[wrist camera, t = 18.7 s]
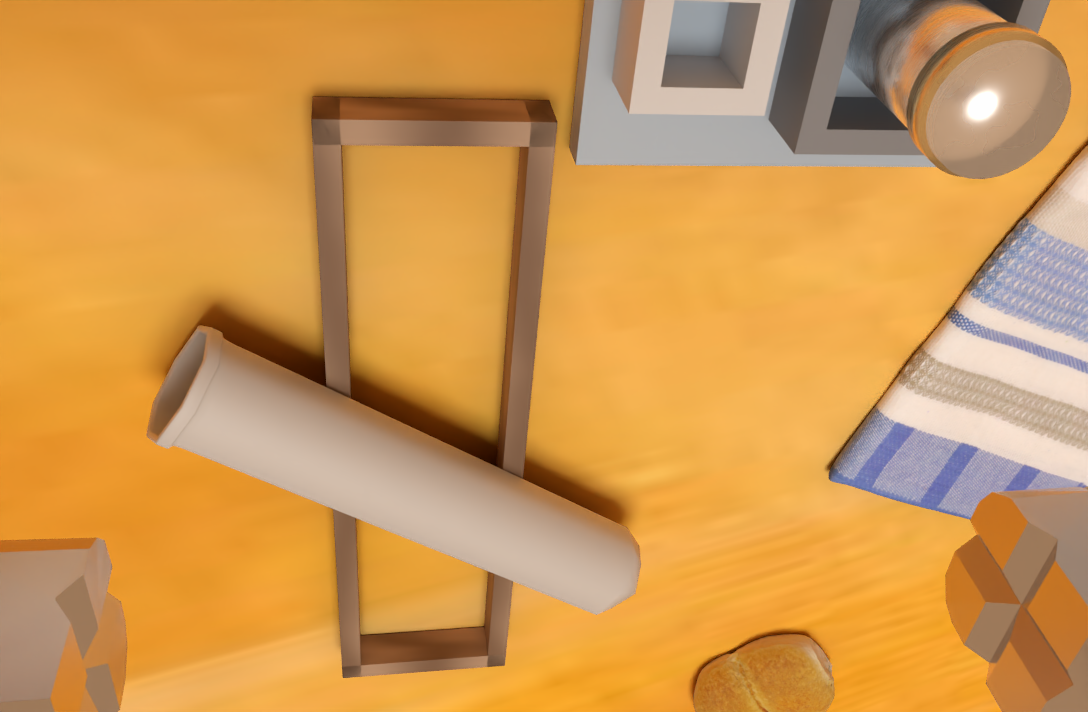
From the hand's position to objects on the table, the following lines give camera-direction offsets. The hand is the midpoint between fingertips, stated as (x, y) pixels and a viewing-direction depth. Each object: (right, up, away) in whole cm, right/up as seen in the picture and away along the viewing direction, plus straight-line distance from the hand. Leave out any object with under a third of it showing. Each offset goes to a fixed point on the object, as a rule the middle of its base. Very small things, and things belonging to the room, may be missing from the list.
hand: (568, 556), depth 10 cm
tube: (-6, -3, +40) cm, 41 cm away
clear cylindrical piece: (+13, +14, +29) cm, 35 cm away
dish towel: (+27, +3, +44) cm, 52 cm away
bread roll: (+14, -18, +57) cm, 61 cm away
